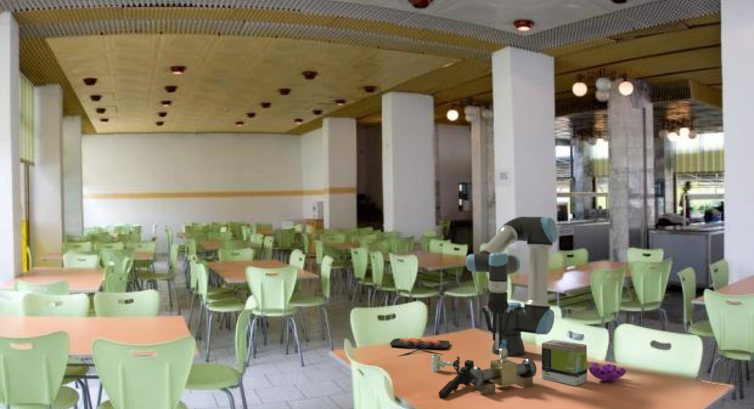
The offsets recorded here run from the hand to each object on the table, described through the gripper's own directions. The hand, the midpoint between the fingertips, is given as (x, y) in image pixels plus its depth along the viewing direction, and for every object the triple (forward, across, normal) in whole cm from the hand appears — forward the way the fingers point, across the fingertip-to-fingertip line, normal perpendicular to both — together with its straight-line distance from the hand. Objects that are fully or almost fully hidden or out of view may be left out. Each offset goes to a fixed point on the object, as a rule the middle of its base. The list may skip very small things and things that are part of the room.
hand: (497, 348), depth 242 cm
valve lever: (0, +3, -5) cm, 5 cm away
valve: (+13, -22, +3) cm, 26 cm away
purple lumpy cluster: (+12, +42, +11) cm, 45 cm away
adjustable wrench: (+13, -12, -20) cm, 26 cm away
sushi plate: (+14, -44, +34) cm, 57 cm away
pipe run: (+12, +4, -12) cm, 17 cm away
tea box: (+12, +26, +6) cm, 29 cm away
